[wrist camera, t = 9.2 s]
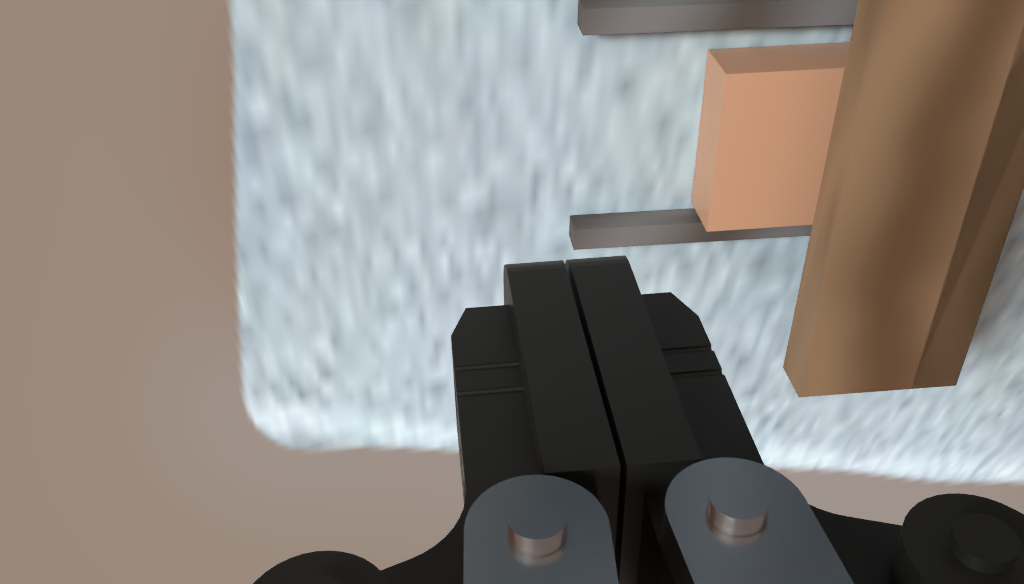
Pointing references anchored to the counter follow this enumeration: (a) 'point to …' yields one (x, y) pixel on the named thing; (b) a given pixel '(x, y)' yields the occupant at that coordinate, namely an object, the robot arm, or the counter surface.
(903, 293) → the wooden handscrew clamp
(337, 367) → the counter surface
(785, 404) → the counter surface
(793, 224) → the light orange flat block
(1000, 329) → the counter surface
